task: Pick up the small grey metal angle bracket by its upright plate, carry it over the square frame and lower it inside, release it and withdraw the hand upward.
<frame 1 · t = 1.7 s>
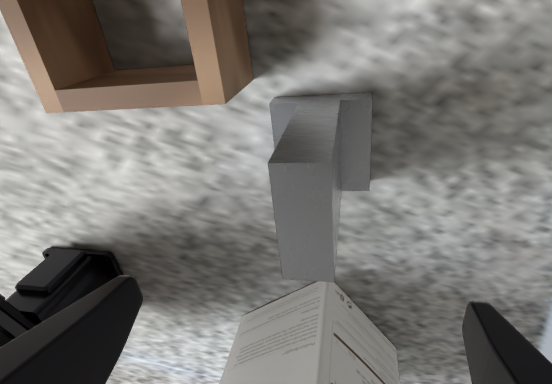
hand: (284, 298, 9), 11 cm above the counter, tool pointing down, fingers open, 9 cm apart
bracket: (323, 140, 19), on the counter
supplement box: (318, 328, 27), on the counter
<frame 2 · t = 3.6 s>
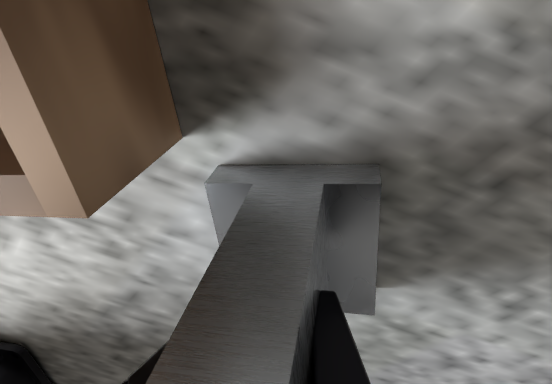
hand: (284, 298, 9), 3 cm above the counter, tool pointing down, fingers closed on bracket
bracket: (300, 230, 12), on the counter, touching gripper
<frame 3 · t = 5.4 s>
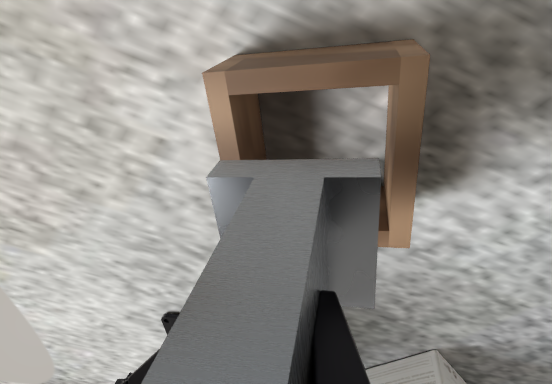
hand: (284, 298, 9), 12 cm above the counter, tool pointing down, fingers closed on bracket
square frame: (322, 132, 19), on the counter
bracket: (300, 225, 12), point 9 cm above the counter, touching gripper
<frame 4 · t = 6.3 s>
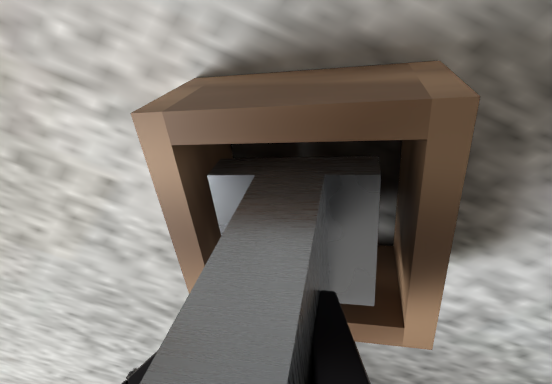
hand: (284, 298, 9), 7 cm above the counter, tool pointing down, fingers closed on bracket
square frame: (313, 178, 15), on the counter
bracket: (301, 223, 12), point 3 cm above the counter, touching gripper
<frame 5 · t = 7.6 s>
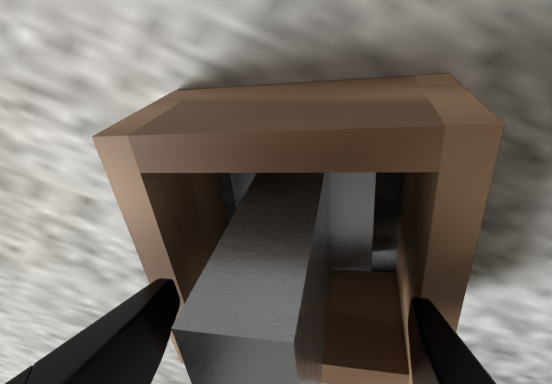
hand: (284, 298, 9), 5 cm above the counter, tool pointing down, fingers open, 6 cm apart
square frame: (307, 200, 13), on the counter
bracket: (306, 198, 13), resting in square frame
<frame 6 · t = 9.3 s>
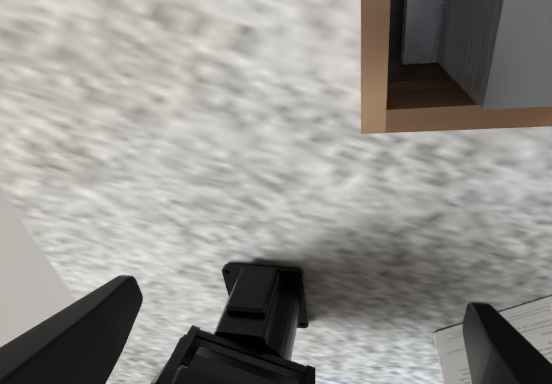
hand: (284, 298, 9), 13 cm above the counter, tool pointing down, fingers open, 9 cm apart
supplement box: (517, 345, 26), on the counter
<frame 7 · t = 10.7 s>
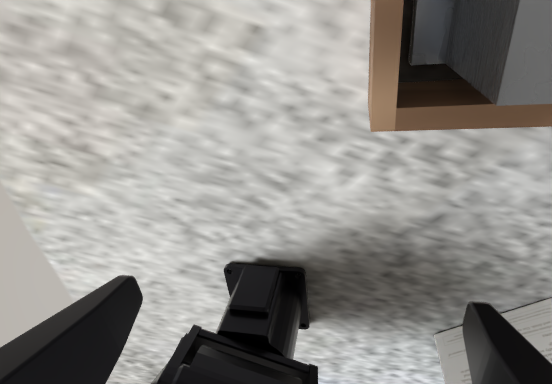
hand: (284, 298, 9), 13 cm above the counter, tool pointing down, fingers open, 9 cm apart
square frame: (472, 0, 16), on the counter
supplement box: (516, 348, 26), on the counter
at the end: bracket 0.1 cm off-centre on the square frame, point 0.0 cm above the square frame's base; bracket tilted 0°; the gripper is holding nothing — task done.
